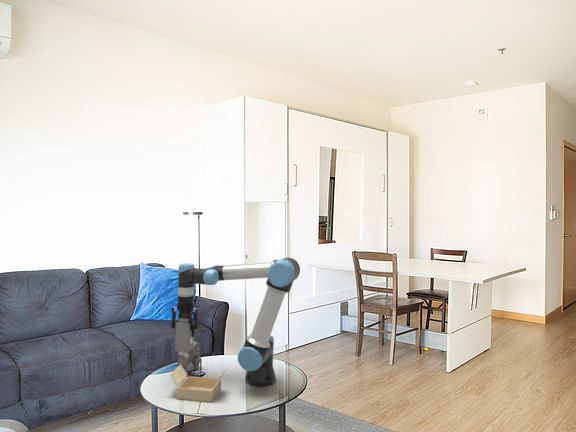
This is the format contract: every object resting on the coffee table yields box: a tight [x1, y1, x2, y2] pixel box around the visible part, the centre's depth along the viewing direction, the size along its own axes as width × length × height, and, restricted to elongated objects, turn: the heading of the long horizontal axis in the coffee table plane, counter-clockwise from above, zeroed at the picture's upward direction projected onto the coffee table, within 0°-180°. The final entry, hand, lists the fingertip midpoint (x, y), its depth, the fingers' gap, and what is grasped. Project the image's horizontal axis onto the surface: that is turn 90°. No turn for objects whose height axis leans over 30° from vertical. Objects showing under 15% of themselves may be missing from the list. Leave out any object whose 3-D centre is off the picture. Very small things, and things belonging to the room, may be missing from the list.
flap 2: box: [213, 367, 228, 388], centre depth 215 cm, size 6×13×1 cm
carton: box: [175, 375, 222, 403], centre depth 216 cm, size 16×15×5 cm
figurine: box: [176, 340, 201, 372], centre depth 249 cm, size 10×11×15 cm
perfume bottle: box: [174, 313, 195, 352], centre depth 231 cm, size 7×7×18 cm
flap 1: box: [169, 365, 188, 386], centre depth 217 cm, size 6×13×1 cm
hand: (184, 342), depth 231 cm, fingers closed on perfume bottle, 6 cm apart
